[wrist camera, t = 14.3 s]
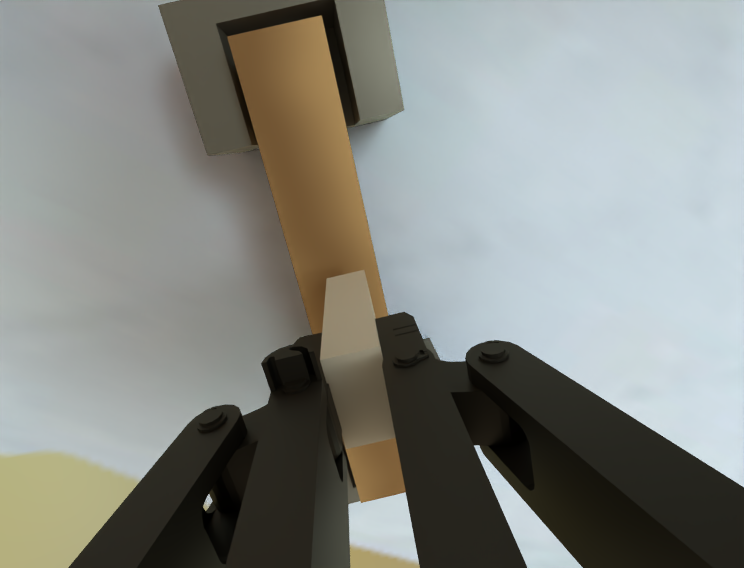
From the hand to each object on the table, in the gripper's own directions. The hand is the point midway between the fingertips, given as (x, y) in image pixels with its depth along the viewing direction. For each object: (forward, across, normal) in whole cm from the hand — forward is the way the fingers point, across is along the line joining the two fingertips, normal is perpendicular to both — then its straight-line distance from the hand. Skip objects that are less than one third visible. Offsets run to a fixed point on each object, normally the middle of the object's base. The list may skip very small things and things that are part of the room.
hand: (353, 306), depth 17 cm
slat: (+8, 0, -1) cm, 8 cm away
